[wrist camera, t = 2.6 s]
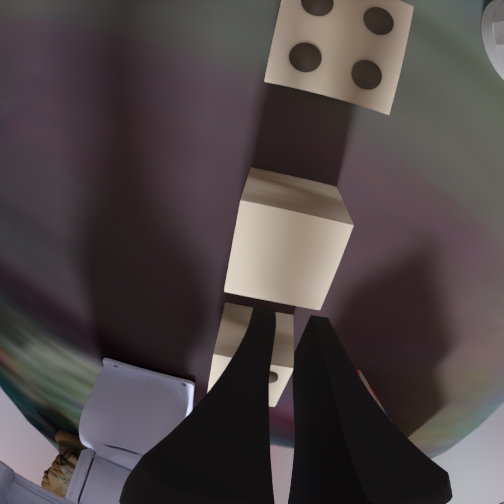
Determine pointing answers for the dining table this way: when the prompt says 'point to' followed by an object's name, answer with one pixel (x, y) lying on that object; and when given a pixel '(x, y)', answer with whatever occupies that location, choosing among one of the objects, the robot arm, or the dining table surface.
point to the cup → (494, 34)
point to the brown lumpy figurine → (63, 463)
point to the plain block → (287, 239)
